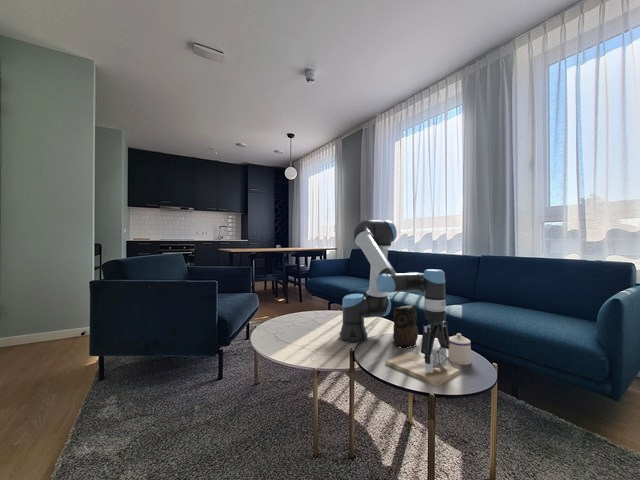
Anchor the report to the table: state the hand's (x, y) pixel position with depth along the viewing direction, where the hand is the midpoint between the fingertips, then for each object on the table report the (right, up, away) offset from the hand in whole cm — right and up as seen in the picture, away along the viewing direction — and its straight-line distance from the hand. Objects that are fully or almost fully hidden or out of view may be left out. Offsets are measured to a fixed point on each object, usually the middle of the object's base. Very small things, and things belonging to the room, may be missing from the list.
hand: (436, 367), depth 103 cm
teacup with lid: (+15, -3, +13) cm, 20 cm away
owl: (-2, -4, +33) cm, 33 cm away
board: (-4, -3, +5) cm, 7 cm away
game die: (0, 0, 0) cm, 0 cm away
